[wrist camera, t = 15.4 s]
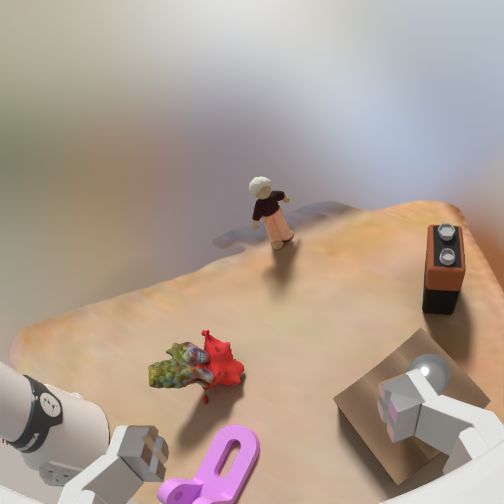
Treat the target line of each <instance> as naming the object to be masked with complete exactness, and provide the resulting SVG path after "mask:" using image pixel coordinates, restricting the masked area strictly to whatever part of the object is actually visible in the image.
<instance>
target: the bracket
mask: <svg viewBox="0 0 504 504" xmlns="http://www.w3.org/2000/svg"><path fill="white" fill-rule="evenodd" d="M237 440H238V441H239V442H240V443H241V448H240V451H239V453H238V455H237V457H236V459H235V461H234V463H233V465H232V467H231V469H230V471H229V473H228V475H227V476H226V477H225V478H221V477H220V475H219V469H220V467H221V465H222V463H223V461H224V459H225V457H226V455H227V453H228V451H229V449H230V447H231V445H232V443H233V442H234V441H237ZM259 451H260V442H259V439H258V437H257V435H256V434H255V433H254V432H253V431H252V430H250V429H249V428H246V427H244V426H241V425H229V426H226V427H224V428H223V429H221V430H220V431H219V432H218V433H217V434H216V436H215V438H214V440H213V442H212V444H211V446H210V448H209V450H208V452H207V454H206V456H205V458H204V460H203V462H202V464H201V466H200V468H199V470H198V472H197V474H196V476H195V477H194V479H192V480H189V479H179V478H172V479H169V480H167V481H166V482H165V483H163V485H162V486H161V487H160V489H159V490H158V494H157V498H158V500H159V501H161V502H162V503H163V504H234V503H235V501H236V499H237V497H238V495H239V493H240V491H241V489H242V487H243V485H244V483H245V481H246V479H247V477H248V475H249V473H250V471H251V469H252V467H253V465H254V463H255V461H256V459H257V457H258V454H259Z"/></svg>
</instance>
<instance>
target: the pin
mask: <svg viewBox="0 0 504 504" xmlns="http://www.w3.org/2000/svg"><path fill="white" fill-rule="evenodd" d="M414 369H419V370H420V371H421V373H422V374H423V375H424V377H425V378H426V380H427V381H428V382H429V384H430V385H431V386H432V388H433V389H434V390H435V392H436V393H437V395H438V396H440V395H441V394H442V393H443V392H444V390H445V389H446V387H447V386H448V383H449V380H450V369H449V366H448V364H447V362H446V361H445V360H444V359H443V358H442V357H440V356H438V355H435V354H424V355H421V356H419V357H417V358H416V359H414V360H413V361H412V362H411V363H410V365H409V366H408V368H407V371H406V373H407V372H409V371H412V370H414Z"/></svg>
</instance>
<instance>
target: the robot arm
mask: <svg viewBox="0 0 504 504" xmlns="http://www.w3.org/2000/svg"><path fill="white" fill-rule="evenodd" d="M378 392H379V394H380V396H379V397H378V402H377V405H378V411H379V414H380V417H381V419H382V421H383V422H385V423H387V432H388V434H389V436H390V438H391V440H392V442H393V443H394V442H397V441H400V440H403V439H405V438H408V437H410V436H413V435H414V436H415V437H417V438H419V439H420V440H422V441H424V442H425V443H427V444H429V445H431V446H432V447H434V448H436V449H438V450H439V451H441V452H443V453H445V454H447V455H448V456H449V458H448V460H447V462H446V464H445V466H444V468H443V470H442V471H443V473H444V476H442V477H440V478H438V479H436V480H434V481H431V482H429V483H427V484H425V485H423V486H421V487H418V488H416V489H414V490H411V491H409V492H407V493H404V494H402V495H399V496H397V497H394V498H391V499H389V500H386V501H383V502H380V503H377V504H504V426H503V424H502V423H501V422H500V420H499V419H498V418H497V417H496V415H495V414H494V413H493V412H491V411H488V410H485V409H482V408H479V407H476V406H473V405H470V404H467V403H464V402H461V401H458V400H456V399H453V398H450V397H447V396H444V395H440V396H438V395H437V393H436V392H435V390H434V389H433V388H432V386H431V385H430V384H429V382H428V381H427V380H426V378H425V377H424V375H423V374H422V373H421V371H420V370H419V369H414V370H412V371H409V372H407V373H405V374H401V375H399V376H396V377H394V378H391V379H388V380H386V381H383V382H380V383H379V385H378ZM0 438H2V439H3V443H4V439H5V440H6V443H7V445H8V443H9V444H10V445H12V446H13V447H14V448H15V449H17V450H19V451H21V454H22V457H23V459H24V461H25V463H26V465H27V466H28V467H29V468H31V469H33V470H36V471H39V472H40V477H42V479H43V481H44V482H45V484H48V485H50V486H64V489H63V492H62V494H61V496H60V499H59V501H58V504H126V503H127V502H128V501H129V500H130V499H131V497H132V496H133V495H134V494H135V493H136V492H137V490H138V489H139V488H140V487H141V486H142V485H143V483H144V482H163V481H164V476H165V471H166V468H165V466H164V465H163V464H164V463H165V462H166V461H167V460H168V456H169V451H168V445H167V443H166V441H165V440H164V438H162V437H160V436H159V435H158V430H157V428H156V427H155V426H135V425H129V426H128V425H119V426H118V427H116V429H115V432H114V434H113V437H112V439H111V442H110V444H109V429H108V424H107V420H106V417H105V415H104V413H103V411H102V410H101V409H100V408H99V407H98V406H97V405H96V404H94V403H92V402H89V401H86V400H85V399H84V398H83V397H82V396H81V395H80V394H78V393H75V392H74V393H72V394H69V393H67V392H65V391H62V390H60V389H57V388H55V387H53V386H50V385H47V384H45V385H44V384H42V383H40V382H38V380H36V379H34V378H32V377H29V376H27V375H21V374H19V373H18V372H16V371H15V370H13V369H11V368H10V367H9V366H7V365H6V364H4V363H3V362H1V361H0ZM108 444H109V447H108ZM0 504H46V503H43V502H40V501H38V500H35V499H32V498H30V497H27V496H25V495H23V494H20V493H18V492H15V491H13V490H11V489H9V488H7V487H5V486H2V485H0Z"/></svg>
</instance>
